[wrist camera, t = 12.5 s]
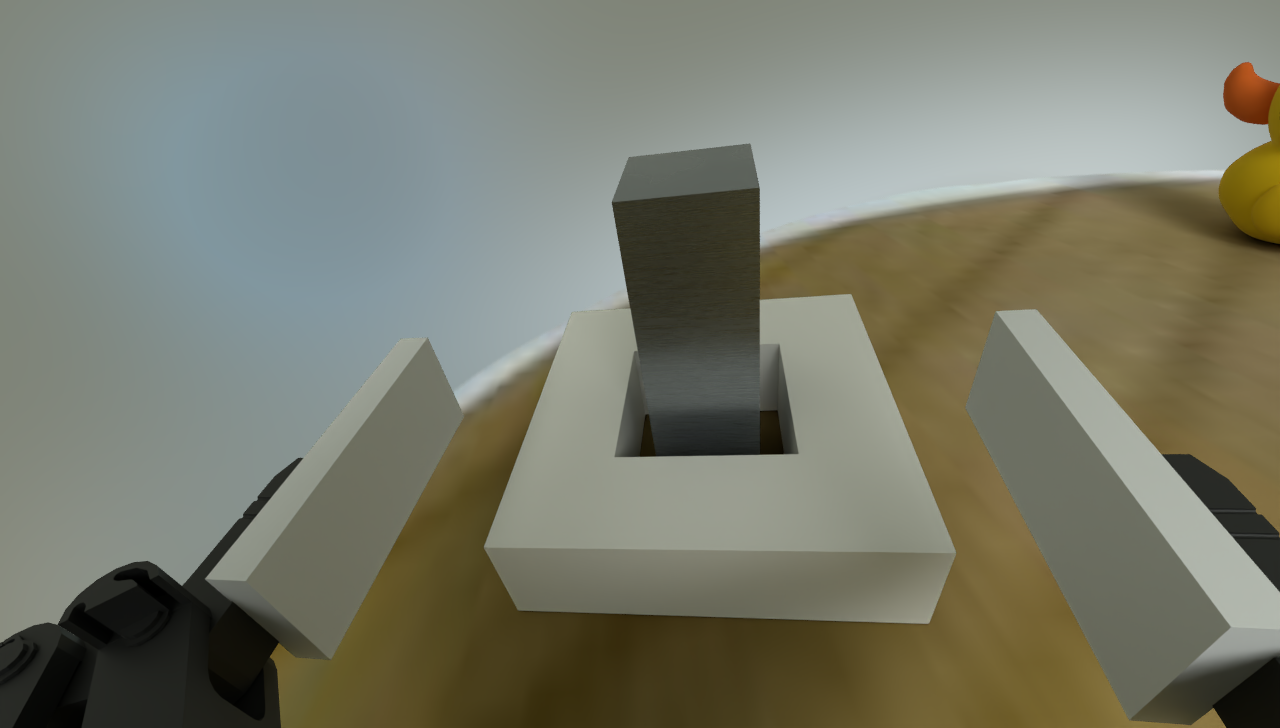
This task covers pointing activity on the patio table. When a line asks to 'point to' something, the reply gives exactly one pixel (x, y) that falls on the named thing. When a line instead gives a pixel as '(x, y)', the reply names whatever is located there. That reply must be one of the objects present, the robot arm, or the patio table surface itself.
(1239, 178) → the duckling
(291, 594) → the robot arm
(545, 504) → the well block
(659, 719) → the patio table surface
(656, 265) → the tall dark grey pillar
